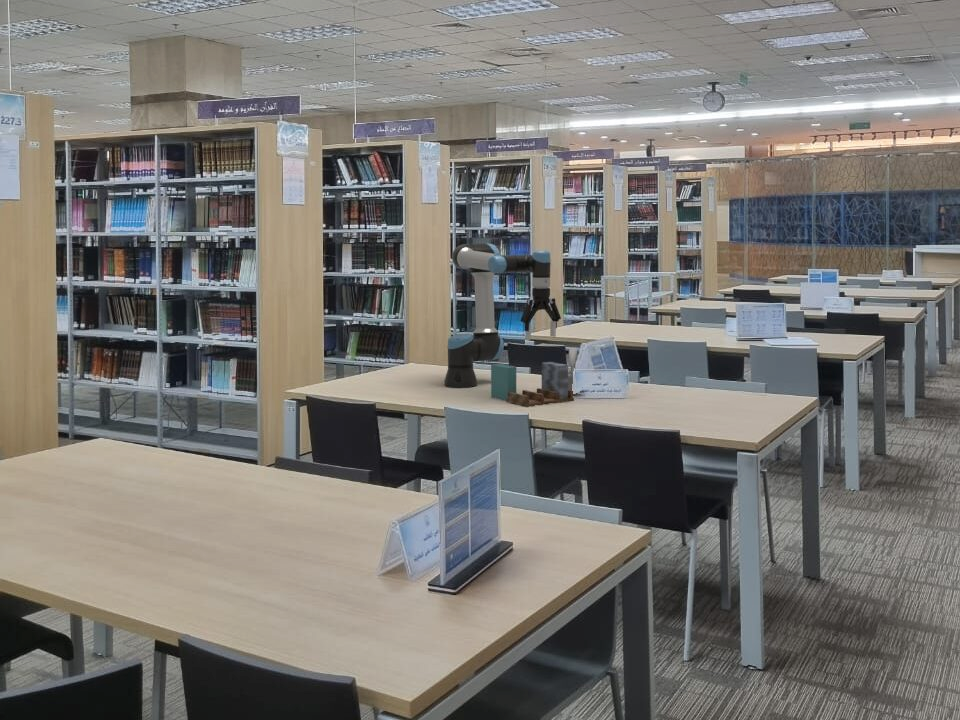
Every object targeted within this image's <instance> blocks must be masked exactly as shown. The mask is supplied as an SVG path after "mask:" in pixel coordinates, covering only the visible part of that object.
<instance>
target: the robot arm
mask: <svg viewBox="0 0 960 720" xmlns="http://www.w3.org/2000/svg"><path fill="white" fill-rule="evenodd" d="M451 261H452V263H453V265H454V266H455V267H457V268H458V269H461V270H470V275H472V276H473V278H474V301H475V326H476V327H475V329H474V331H473V332H472V333H459V334H454V335H450V337H449V338H448V340H447V346H446V347H447V370H446V373H445V376H444V377H445V378H444V381H443V382H444V383H443V384H444V386H445V387H447V388H448V387H449V388H460V389H462V388H464V389H465V388H472V387H477V386H478V379H477V375H476V373H475V370H474V363H475V362H482V361H485V362H486V361H488V362H489V361H490V362H491V361H494V360H495V361H496V360H498V359H499V358H500V357H501V356H502V354H503V352H504V344H505V342H504V339H503V336H502V335H501V334H499V331H498V329H497V328H496V327H495V326H496V324H495V323H496V321H495V304H494V303H495V299H494V298H495V297H494V295H495V294H494V275H495V274H499V275H500V274H510V273H511V274H512V273H513V274H515V273H517V274H518V273H519V274H521V273H522V274H523V273H531V274H532V280H531V281H532V282H531V284H532V285H531V287H532V289H531V291H532V292H531V295H532V299H526V304H525V307H524V310H523V312H522V316H521V319H520V322H522V324H524V331H525V339H527V340H532V323H531V321H532V320H533V318H534V316H535V315H536V313H537V312H538V311H542V310H544V311H545V312H546V314H547V315H548V316H549V318H550V319H551V320H550V322H549V323H550V325H549V328H550V329H549V331H550V333H549V334H550V335H549V336H550V337H553V338H555V337H557V336H556V335H557V334H556V333H557V328H558V322H559V320H561V319H562V317H561V315H560V314H561V313H560V312H559V309H558V306H557V304H556V298H553V297H550V296H551V288H549V287H551V261H552V259H551V252H550V250H533V252H532V254H526V253H525V254H524V253H523V254H501V253H500V250H499V249H498V247H497V246H496V245H494V243H463V244H460V245H458V246H456V248H454V250H453V251H452V253H451Z"/></svg>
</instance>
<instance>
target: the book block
mask: <svg viewBox="0 0 960 720" xmlns="http://www.w3.org/2000/svg"><path fill="white" fill-rule="evenodd" d="M508 392H512V393H517V366H512V365H509V364H503V363H496V364H491V365H490V397H491V398H494V399H498V400H503V401H506V399H508Z"/></svg>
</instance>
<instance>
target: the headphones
mask: <svg viewBox="0 0 960 720" xmlns="http://www.w3.org/2000/svg"><path fill="white" fill-rule="evenodd" d="M578 352H579V350H578V348H576V347H571V348H569V350H568V363H569V365H568V366H570V370H568V390H572V384H573V371H574V368H575V369H576V362H577V360H578V354H579V353H578Z"/></svg>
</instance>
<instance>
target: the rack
mask: <svg viewBox="0 0 960 720" xmlns="http://www.w3.org/2000/svg"><path fill="white" fill-rule="evenodd" d="M568 372H569V365H568V364H564V363H560V362H553V361H545V362H541V388H536V392H535V391H530V390H526V389H523V390H522V394H520V393H517V392H516V393H512V392H508V399H506V400H505V401H506V403H508V404H511V405H512V404H513V405H516V406H521V407H524V406H525V408H529V406H531V407H536V406H535V405H538V406H544V405H543V404H546V405H550V404H549V403H553V404H558V402H560V403H566V402H574V401H575V397H573V396H574V394H573V391H572V390H568Z"/></svg>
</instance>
